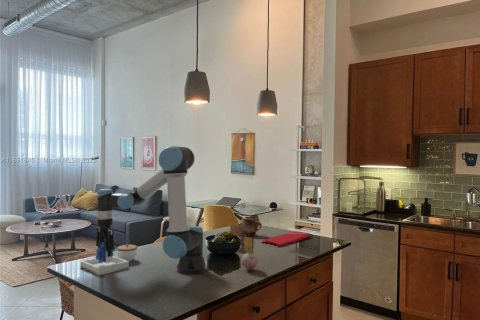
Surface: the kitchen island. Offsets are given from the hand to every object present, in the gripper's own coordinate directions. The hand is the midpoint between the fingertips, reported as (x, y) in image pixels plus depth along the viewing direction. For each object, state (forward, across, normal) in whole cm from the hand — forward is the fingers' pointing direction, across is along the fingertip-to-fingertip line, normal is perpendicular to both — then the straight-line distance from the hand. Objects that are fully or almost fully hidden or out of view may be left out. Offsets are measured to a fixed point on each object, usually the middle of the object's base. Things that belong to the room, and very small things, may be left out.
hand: (104, 261), depth 191 cm
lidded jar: (+4, +3, -16) cm, 16 cm away
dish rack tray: (+4, 0, 0) cm, 4 cm away
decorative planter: (+4, -9, -114) cm, 115 cm away
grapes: (+1, 0, 0) cm, 1 cm away
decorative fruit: (+4, -60, -48) cm, 77 cm away
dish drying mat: (+4, -38, -120) cm, 126 cm away
